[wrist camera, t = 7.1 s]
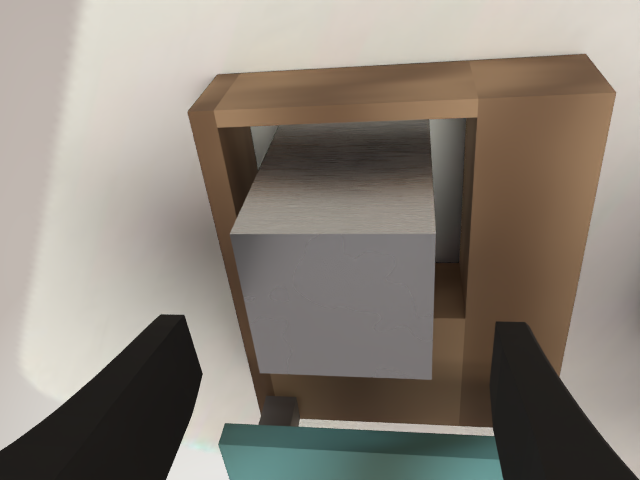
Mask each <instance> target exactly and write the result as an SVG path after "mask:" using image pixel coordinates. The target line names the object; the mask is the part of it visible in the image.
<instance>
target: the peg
mask: <svg viewBox="0 0 640 480" xmlns="http://www.w3.org/2000/svg"><path fill="white" fill-rule="evenodd" d="M230 238H231V242H232V247H233V252H234V256H235V261H236V265H237V270H238V275H239V279H240V284H241V288H242V293H243V298H244V302H245V307H246V311H247V316H248V321H249V325H250V330H251V334H252V339H253V344H254V348H255V353H256V357H257V362H258V367H259V371H260V373H269V374H295V375H321V376H347V377H373V378H399V379H425V380H432V349H433V314H434V280H435V246H436V228H435V211H434V194H433V177H432V159H431V142H430V125H429V119H422V120H396V121H371V122H346V123H321V124H296V125H279V127H278V129H277V131H276V133H275V136H274V138H273V140H272V142H271V144H270V147H269V149H268V151H267V153H266V155H265V158H264V160H263V162H262V164H261V166H260V169H259V171H258V173H257V175H256V177H255V180H254V182H253V184H252V186H251V188H250V191H249V193H248V195H247V197H246V199H245V201H244V204H243V206H242V208H241V210H240V212H239V215H238V217H237V219H236V221H235V223H234V226H233V228H232V230H231V232H230Z"/></svg>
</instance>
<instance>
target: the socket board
mask: <svg viewBox="0 0 640 480" xmlns="http://www.w3.org/2000/svg"><path fill="white" fill-rule="evenodd" d="M615 96H616V92H615V90H614V89H613V88H612V87H611V85H610V84H609V83H608V81H607V80H606V79H605V78H604V76H603V75H602V74H601V73H600V71H599V70H598V69H597V67H596V66H595V65H594V64H593V62H592V61H591V60H590V58H589V57H588V56H587V55H586V54H579V55H561V56H543V57H525V58H507V59H489V60H471V61H453V62H435V63H417V64H399V65H381V66H363V67H345V68H327V69H309V70H291V71H273V72H255V73H237V74H219V75H217V76H216V77H215V78H214V80H213V81H212V82H211V83H210V84H209V86H208V87H207V88H206V89H205V91H204V92H203V93H202V94H201V96H200V97H199V98H198V99H197V101H196V102H195V103H194V104H193V106H192V107H191V108H190V109H189V110H188V116H189V120H190V124H191V128H192V132H193V137H194V141H195V145H196V149H197V153H198V157H199V161H200V165H201V170H202V174H203V178H204V182H205V186H206V190H207V194H208V198H209V203H210V207H211V211H212V215H213V219H214V223H215V227H216V231H217V236H218V240H219V244H220V248H221V252H222V256H223V260H224V264H225V269H226V273H227V277H228V281H229V285H230V289H231V293H232V297H233V301H234V306H235V310H236V314H237V318H238V322H239V326H240V330H241V334H242V339H243V343H244V347H245V351H246V355H247V359H248V363H249V367H250V372H251V376H252V380H253V384H254V388H255V392H256V396H257V400H258V405H259V409H260V413H261V418H260V422H259V425H250V424H229V423H225V425H224V428H223V431H222V435H221V438H220V441H219V444H218V445H219V448H220V451H221V454H222V457H223V460H224V464H225V467H226V470H227V473H228V476H229V479H230V480H503V476H502V471H501V466H500V461H499V456H498V451H497V446H496V441H495V436H478V435H457V434H436V433H415V432H395V431H374V430H353V429H333V428H312V427H298V425H299V420H300V419H320V420H342V421H363V422H385V423H407V424H429V425H450V426H472V427H493V422H492V411H491V400H490V387H489V383H490V373H491V363H492V353H493V343H494V333H495V323H496V321H503V322H526V323H527V324H528V325H529V326H530V328H531V330H532V332H533V334H534V336H535V338H536V340H537V341H538V343H539V345H540V347H541V349H542V350H543V352H544V354H545V355H546V357H547V359H548V360H549V362H550V363H551V365H552V367H553V368H554V370H555V371H556V373H557V375H558V376H560V371H561V366H562V361H563V356H564V351H565V346H566V341H567V336H568V331H569V326H570V321H571V316H572V311H573V306H574V301H575V296H576V291H577V286H578V281H579V276H580V271H581V266H582V261H583V256H584V251H585V246H586V241H587V236H588V231H589V226H590V221H591V216H592V211H593V206H594V201H595V196H596V191H597V186H598V181H599V176H600V171H601V166H602V161H603V156H604V151H605V146H606V141H607V136H608V131H609V126H610V121H611V116H612V111H613V106H614V101H615ZM447 118H466V134H465V154H464V175H463V196H462V217H461V237H460V258H459V263H435V280H434V314H433V349H432V380H425V379H399V378H373V377H347V376H321V375H295V374H269V373H260V371H259V367H258V362H257V357H256V353H255V348H254V344H253V339H252V334H251V330H250V325H249V321H248V316H247V311H246V307H245V302H244V298H243V293H242V288H241V284H240V279H239V275H238V270H237V265H236V261H235V256H234V252H233V247H232V242H231V238H230V232H231V230H232V228H233V226H234V223H235V221H236V219H237V217H238V215H239V212H240V210H241V208H242V206H243V204H244V201H245V199H246V197H247V195H248V193H249V191H250V188H251V186H252V184H253V182H254V180H255V177H256V175H257V173H258V169H257V163H256V158H255V152H254V146H253V141H252V135H251V130H250V126H271V125H296V124H321V123H346V122H371V121H396V120H422V119H447Z"/></svg>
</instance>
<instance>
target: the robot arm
mask: <svg viewBox="0 0 640 480" xmlns="http://www.w3.org/2000/svg"><path fill="white" fill-rule="evenodd" d="M202 375H203V373H202V370H201V367H200V364H199V361H198V357H197V354H196V351H195V348H194V345H193V341H192V338H191V335H190V332H189V328H188V325H187V322H186V319H185V316H184V315H163V314H161V315H159V316H158V317H157V318H156V319H155V320H154V321H153V322H152V323H151V324H150V325H149V326H148V327H147V328H146V329H145V330H143V331H142V332H141V333H140V334H139V335H138V336H137V337H136V338H135V339H134V340H133V341H132V342H131V343H130V344H129V345H128V346H127V347H126V348H125V349H124V350H123V351H122V352H121V353H120V354H119V355H118V356H116V357H115V358H114V359H113V360H112V361H111V362H110V363H109V364H108V365H107V366H106V367H105V368H104V369H103V370H102V371H100V372H99V373H98V374H97V375H96V376H95V377H94V378H93V379H92V380H91V381H89V382H88V383H87V384H86V385H85V386H84V387H82V388H81V389H80V390H79V391H78V392H77V393H75V394H74V395H73V396H72V397H71V398H70V399H69V400H67V401H66V402H65V403H64V404H63V405H62V406H60V407H59V408H58V409H57V410H55V411H54V412H53V413H52V414H51V415H49V416H48V417H47V418H45V419H44V420H43V421H42V422H40V423H39V424H38V425H36V426H35V427H33V428H32V429H31V430H30V431H28V432H27V433H25V434H24V435H23V436H21V437H20V438H19V439H17V440H16V441H14V442H13V443H12V444H10V445H8V446H7V447H5V448H4V449H2V450H1V451H0V480H166V478H167V476H168V473H169V471H170V468H171V466H172V464H173V461H174V459H175V456H176V453H177V451H178V449H179V446H180V444H181V441H182V439H183V436H184V434H185V431H186V429H187V426H188V424H189V421H190V419H191V416H192V413H193V410H194V406H195V402H196V399H197V395H198V391H199V387H200V383H201V379H202ZM489 387H490V400H491V411H492V422H493V431H494V436H495V441H496V446H497V451H498V456H499V461H500V466H501V471H502V476H503V480H639V479H638V478H637V477H636V475H635V474H634V473H633V472H632V471H631V470H630V469H629V468H628V466H627V465H626V464H625V463H624V462H623V461H622V460H621V459H620V457H619V456H618V455H617V454H616V453H615V451H614V450H613V449H612V448H611V447H610V445H609V444H608V443H607V442H606V441H605V439H604V438H603V437H602V436H601V434H600V433H599V432H598V430H597V429H596V428H595V427H594V425H593V424H592V423H591V421H590V420H589V419H588V417H587V416H586V415H585V413H584V412H583V411H582V409H581V408H580V407H579V405H578V404H577V402H576V401H575V400H574V398H573V397H572V395H571V394H570V392H569V391H568V389H567V388H566V387H565V385H564V384H563V382H562V381H561V379H560V378H559V376H558V375H557V373H556V371H555V370H554V368H553V367H552V365H551V363H550V362H549V360H548V359H547V357H546V355H545V354H544V352H543V350H542V349H541V347H540V345H539V343H538V341H537V340H536V338H535V336H534V334H533V332H532V330H531V328H530V326H529V325H528V324H527V323H526V322H503V321H496V323H495V333H494V343H493V353H492V363H491V373H490V383H489Z"/></svg>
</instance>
